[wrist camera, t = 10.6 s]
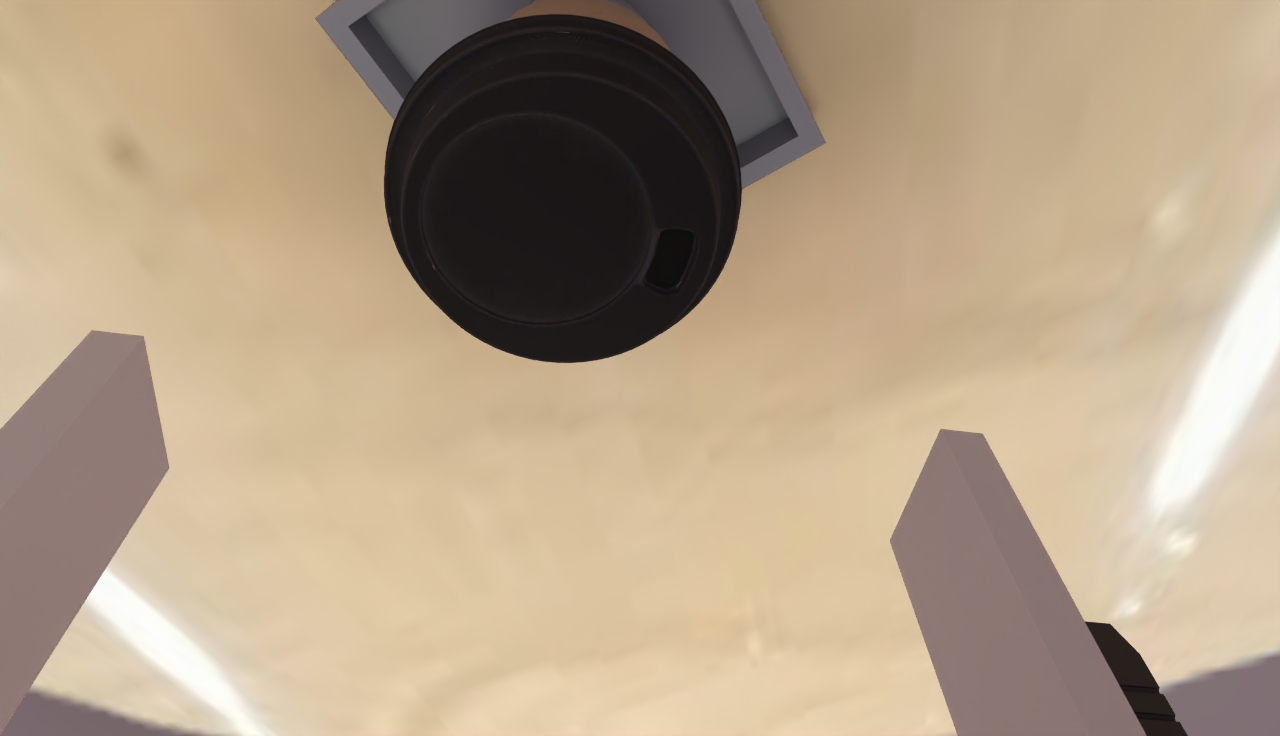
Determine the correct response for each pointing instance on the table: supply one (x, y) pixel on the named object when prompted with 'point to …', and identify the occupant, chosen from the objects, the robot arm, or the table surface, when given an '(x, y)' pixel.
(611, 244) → the coffee cup
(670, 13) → the tray
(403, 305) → the table surface
